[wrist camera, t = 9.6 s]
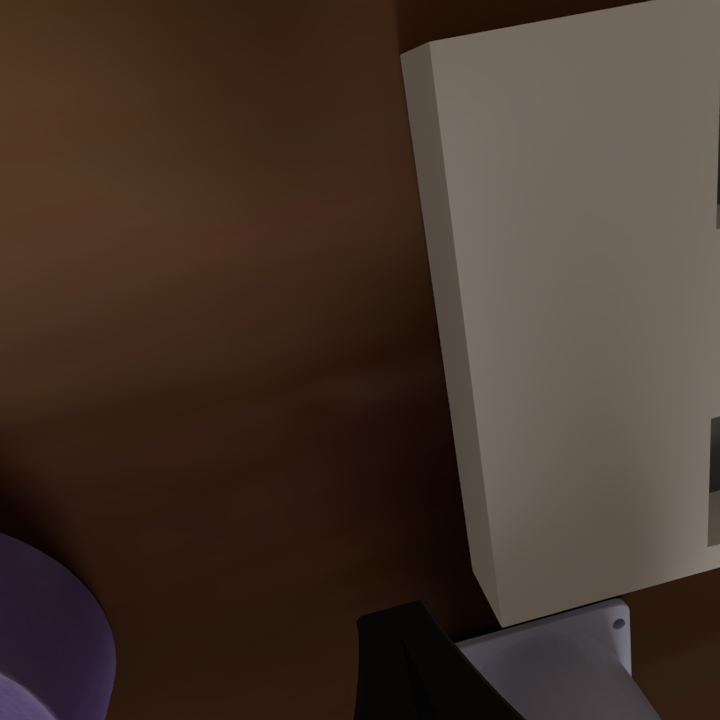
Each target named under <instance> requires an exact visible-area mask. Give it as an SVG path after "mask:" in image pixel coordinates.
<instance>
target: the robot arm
mask: <svg viewBox="0 0 720 720" xmlns="http://www.w3.org/2000/svg"><path fill="white" fill-rule="evenodd" d="M616 620H617V621H616ZM357 627H358V636H359V672H358V685H357V695H356V705H355V714H354V720H661V718H660V717H659V715H658V714H657V712H656V711H655V710H654V708H653V707H652V705H651V704H650V703H649V701H648V700H647V698H646V697H645V695H644V694H643V693H642V691H641V690H640V688H639V687H638V686H637V684H636V683H635V681H634V680H633V679H632V677H631V644H630V610H629V607H628V606H627V604H626V603H625V602H624V601H623V600H622V599H619V598H616V599H611V600H607V601H604V602H600V603H597V604H593V605H589V606H586V607H582V608H579V609H575V610H572V611H568V612H564V613H561V614H557V615H554V616H550V617H547V618H543V619H539V620H536V621H532V622H529V623H525V624H522V625H518V626H514V627H511V628H507V629H504V630H500V631H497V632H493V633H489V634H486V635H482V636H479V637H475V638H471V639H468V640H464V641H461V642H457V643H454V642H453V640H452V639H451V638H450V637H449V635H448V634H447V633H446V631H445V630H444V629H443V627H442V626H441V625H440V623H439V622H438V620H437V619H436V617H435V616H434V614H433V613H432V611H431V610H430V608H429V606H428V605H427V603H425V602H424V601H422V600H418V601H414V602H411V603H407V604H403V605H400V606H396V607H392V608H389V609H385V610H381V611H378V612H374V613H370V614H366V615H363V616H361V617H360V618H359V619H358V621H357Z"/></svg>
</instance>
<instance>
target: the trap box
mask: <svg viewBox="0 0 720 720" xmlns="http://www.w3.org/2000/svg"><path fill="white" fill-rule="evenodd" d="M400 59H401V66H402V73H403V80H404V87H405V94H406V101H407V108H408V116H409V123H410V130H411V137H412V144H413V151H414V158H415V165H416V172H417V180H418V187H419V194H420V201H421V208H422V215H423V222H424V229H425V236H426V244H427V251H428V258H429V265H430V272H431V279H432V286H433V293H434V300H435V308H436V315H437V322H438V329H439V336H440V343H441V350H442V357H443V364H444V371H445V379H446V386H447V393H448V400H449V407H450V414H451V421H452V428H453V435H454V443H455V450H456V457H457V464H458V471H459V478H460V485H461V492H462V499H463V507H464V514H465V521H466V528H467V535H468V542H469V549H470V556H471V563H472V571H473V573H474V574H475V576H476V578H477V580H478V582H479V584H480V586H481V588H482V590H483V592H484V594H485V596H486V598H487V600H488V601H489V603H490V605H491V607H492V609H493V611H494V613H495V615H496V617H497V619H498V621H499V623H500V625H501V627H502V628H503V627H507V626H511V625H514V624H518V623H521V622H525V621H528V620H532V619H536V618H539V617H543V616H546V615H550V614H553V613H557V612H561V611H564V610H568V609H571V608H575V607H579V606H582V605H586V604H589V603H593V602H596V601H600V600H604V599H607V598H611V597H614V596H618V595H621V594H625V593H629V592H632V591H636V590H639V589H643V588H647V587H650V586H654V585H657V584H661V583H664V582H668V581H672V580H675V579H679V578H682V577H686V576H689V575H693V574H697V573H700V572H704V571H707V570H711V569H715V568H718V567H720V0H652V1H647V2H642V3H636V4H631V5H625V6H620V7H615V8H609V9H604V10H598V11H593V12H588V13H582V14H577V15H571V16H566V17H561V18H555V19H550V20H544V21H539V22H533V23H528V24H523V25H517V26H512V27H506V28H501V29H496V30H490V31H485V32H479V33H474V34H469V35H463V36H458V37H452V38H447V39H442V40H436V41H431V42H428V43H425V44H423V45H421V46H419V47H416V48H414V49H412V50H410V51H407V52H405V53H403V54H401V55H400Z"/></svg>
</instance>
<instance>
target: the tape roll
mask: <svg viewBox="0 0 720 720" xmlns="http://www.w3.org/2000/svg"><path fill="white" fill-rule="evenodd" d="M115 671H116V651H115V643H114V639H113V634H112V631H111V628H110V625H109V623H108V620H107V618H106V616H105V614H104V612H103V610H102V608H101V607H100V605H99V603H98V602H97V600H96V599H95V597H94V596H93V595H92V593H91V592H90V591H89V590H88V589H87V588H86V586H85V585H84V584H83V583H82V582H81V581H80V580H79V579H78V578H77V577H76V576H75V575H73V574H72V573H71V572H70V571H69V570H68V569H67V568H65V567H64V566H63V565H61V564H60V563H59V562H57V561H56V560H54V559H53V558H51V557H50V556H48V555H46V554H45V553H43V552H41V551H39V550H38V549H36V548H34V547H32V546H30V545H28V544H26V543H24V542H22V541H20V540H18V539H16V538H13V537H10V536H8V535H5V534H3V533H0V720H105V716H106V712H107V708H108V704H109V700H110V696H111V692H112V688H113V683H114V678H115Z"/></svg>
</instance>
